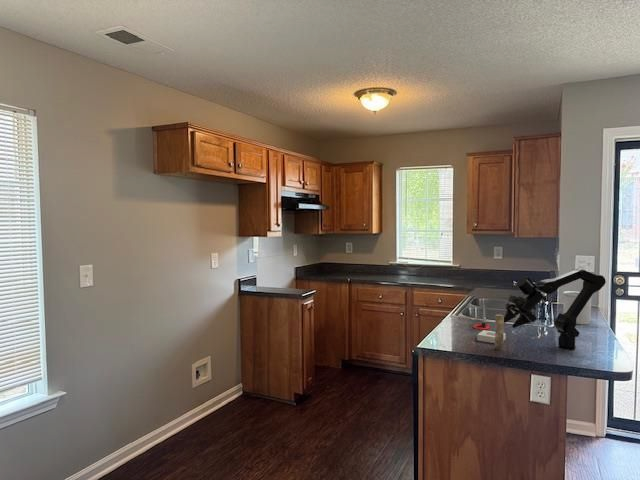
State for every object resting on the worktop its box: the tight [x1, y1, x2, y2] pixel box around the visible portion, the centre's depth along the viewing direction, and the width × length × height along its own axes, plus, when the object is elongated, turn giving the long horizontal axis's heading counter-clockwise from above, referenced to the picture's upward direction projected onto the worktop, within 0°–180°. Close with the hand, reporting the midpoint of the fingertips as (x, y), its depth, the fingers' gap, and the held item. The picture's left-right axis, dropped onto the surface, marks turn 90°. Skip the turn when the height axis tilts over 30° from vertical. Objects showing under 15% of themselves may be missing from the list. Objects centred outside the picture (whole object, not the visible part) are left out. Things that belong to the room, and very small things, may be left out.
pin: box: [494, 314, 505, 351], centre depth 204 cm, size 4×4×16 cm
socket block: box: [476, 330, 507, 344], centre depth 220 cm, size 11×11×3 cm
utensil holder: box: [562, 290, 593, 325], centre depth 259 cm, size 15×15×18 cm
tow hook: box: [472, 304, 491, 331], centre depth 244 cm, size 8×13×9 cm
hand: (507, 324), depth 204 cm, fingers open, 9 cm apart
